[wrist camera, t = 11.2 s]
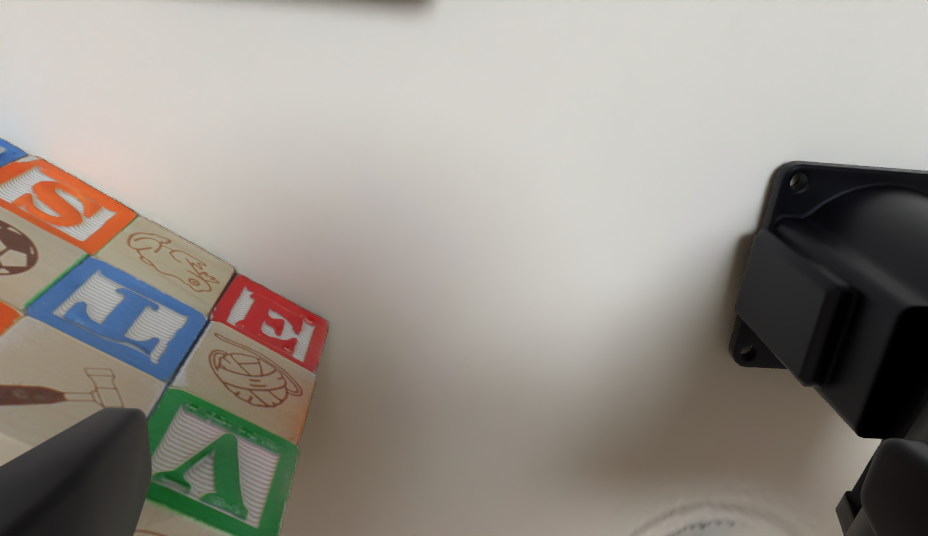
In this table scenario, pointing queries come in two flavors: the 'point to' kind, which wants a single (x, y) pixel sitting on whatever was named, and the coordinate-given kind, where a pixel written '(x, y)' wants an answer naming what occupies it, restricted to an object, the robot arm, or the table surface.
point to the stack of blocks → (149, 352)
